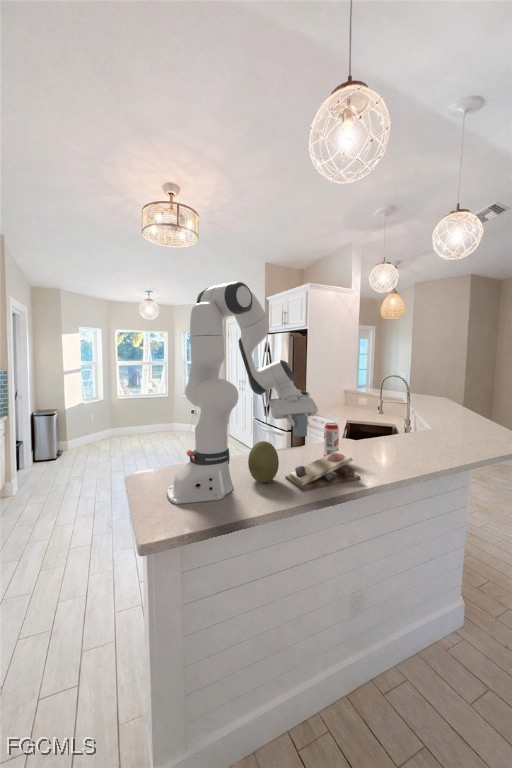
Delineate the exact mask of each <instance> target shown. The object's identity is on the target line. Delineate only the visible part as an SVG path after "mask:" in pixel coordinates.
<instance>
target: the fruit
mask: <svg viewBox="0 0 512 768" xmlns="http://www.w3.org/2000/svg"><path fill="white" fill-rule="evenodd" d="M250 449H251V450H250V451H249V454H248V458H247V459H248V462H247V466H248V470H249V472H250V475H251V477H252V479H253V480H255V482H258V483H260V484H261V483H262V484H265V483H269V482H271V481H273V479H274V478H275V477H276V475H277V474H278V471H279V467H280V466H279V464H280V461H279V456H278V452H277V449H276V448H275V446H274V445H273V444H272V443H271V442H269V441H265V440H264V441H263V440H262V441H257V442H256V443H255V444H254V445H253V446H252V448H250Z"/></svg>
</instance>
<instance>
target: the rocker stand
mask: <svg viewBox="0 0 512 768" xmlns="http://www.w3.org/2000/svg"><path fill="white" fill-rule="evenodd" d="M285 479H286V480H287V481H288V482H289V483H290V484H292V485H293V486H294V487H296V488H298V489H299V490H300V491H302V492H303V491H309V490H314V489H317V488H322V487H327V486H333V485H338V484H342V483H347V482H352V480H353V481H357V480H361V476H360V475H358V474H357V473H355V468H354V467H352V466H349V465H348V464H346V465H344V466H342V467H340V468H338V469H336V470H334V471H332V472H329V473H327V474H325V475H323V476H321V477H319V478H317V479H315V480H313V481H311V482H309V483H307V484H305V485H302V484H300V483H299V482H297V481H296V480H295V479H293V478H292V477H291V476H290V474H289V475H285Z"/></svg>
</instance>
